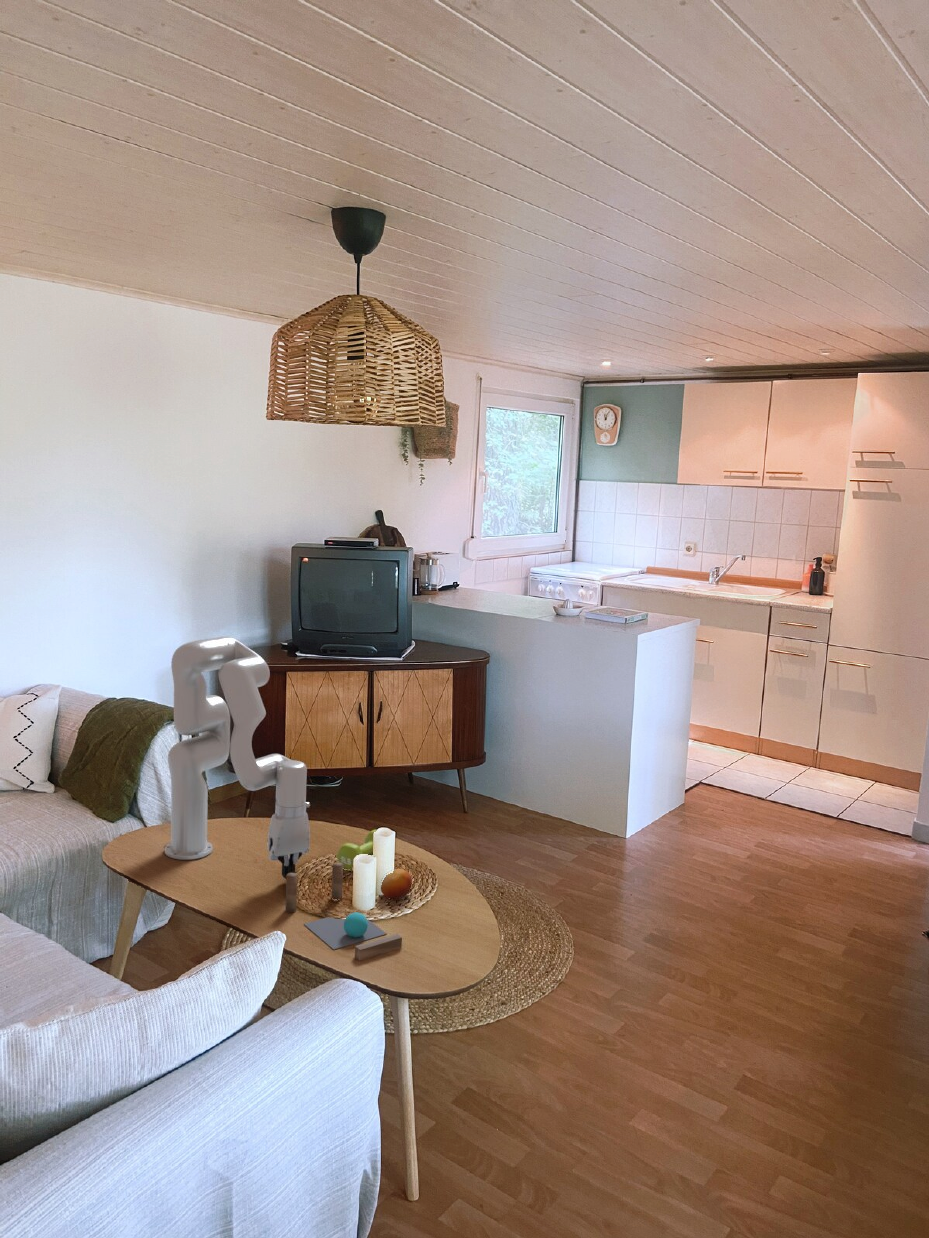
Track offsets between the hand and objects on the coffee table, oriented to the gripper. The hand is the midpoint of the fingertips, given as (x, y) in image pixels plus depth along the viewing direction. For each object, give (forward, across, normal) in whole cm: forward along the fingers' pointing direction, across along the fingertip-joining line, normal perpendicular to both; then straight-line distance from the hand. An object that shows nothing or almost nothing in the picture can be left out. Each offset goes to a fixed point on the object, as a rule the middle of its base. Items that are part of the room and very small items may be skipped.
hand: (288, 877), depth 238 cm
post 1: (+2, +6, +14) cm, 15 cm away
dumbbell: (+2, -24, -2) cm, 24 cm away
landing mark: (+2, 0, +29) cm, 29 cm away
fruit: (+2, -20, +20) cm, 28 cm away
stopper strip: (+2, -1, +42) cm, 42 cm away
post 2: (+2, -6, +14) cm, 15 cm away
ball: (-1, 0, +33) cm, 33 cm away
